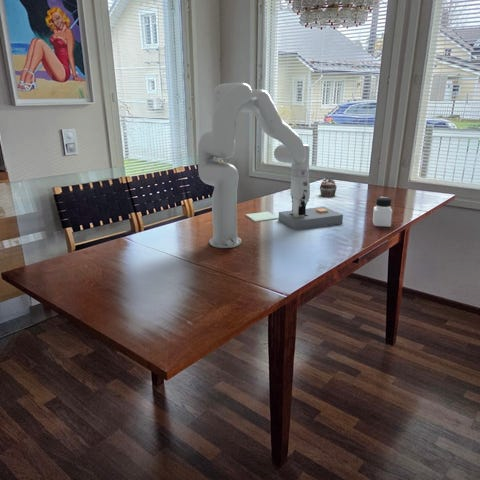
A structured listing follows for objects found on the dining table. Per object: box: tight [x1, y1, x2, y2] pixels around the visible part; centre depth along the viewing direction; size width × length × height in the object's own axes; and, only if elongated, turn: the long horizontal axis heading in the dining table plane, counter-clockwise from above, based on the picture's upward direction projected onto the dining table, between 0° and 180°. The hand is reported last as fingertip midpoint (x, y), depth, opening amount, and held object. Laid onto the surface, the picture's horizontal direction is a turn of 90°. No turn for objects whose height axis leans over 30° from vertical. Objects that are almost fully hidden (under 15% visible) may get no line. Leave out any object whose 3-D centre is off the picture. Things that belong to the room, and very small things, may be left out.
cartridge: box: [293, 197, 305, 218], centre depth 183 cm, size 5×5×13 cm
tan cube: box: [316, 208, 328, 214], centre depth 188 cm, size 4×4×4 cm
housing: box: [278, 206, 344, 231], centre depth 186 cm, size 16×24×4 cm, turn 111°
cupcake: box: [319, 177, 337, 198], centre depth 234 cm, size 10×10×10 cm
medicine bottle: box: [372, 196, 394, 228], centre depth 179 cm, size 7×7×12 cm
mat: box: [245, 211, 279, 223], centre depth 195 cm, size 12×12×1 cm
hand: (298, 212), depth 183 cm, fingers closed on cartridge, 5 cm apart
